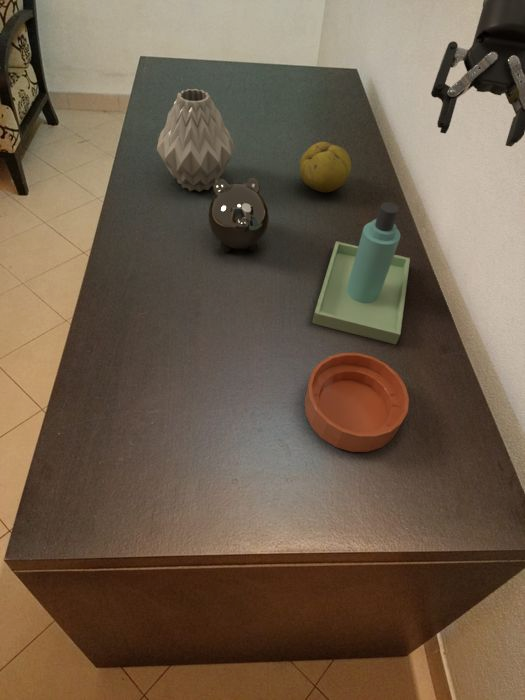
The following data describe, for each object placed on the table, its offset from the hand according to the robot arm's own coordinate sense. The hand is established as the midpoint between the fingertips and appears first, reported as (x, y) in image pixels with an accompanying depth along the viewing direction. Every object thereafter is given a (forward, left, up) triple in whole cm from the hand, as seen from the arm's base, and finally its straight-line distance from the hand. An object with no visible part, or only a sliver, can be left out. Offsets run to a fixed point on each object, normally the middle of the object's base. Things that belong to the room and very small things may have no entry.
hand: (477, 137), depth 61 cm
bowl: (+6, +26, -31) cm, 40 cm away
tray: (+8, 0, -31) cm, 32 cm away
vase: (+49, -23, -31) cm, 62 cm away
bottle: (+8, 0, -30) cm, 31 cm away
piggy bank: (+34, -6, -31) cm, 46 cm away
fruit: (+22, -31, -31) cm, 49 cm away
